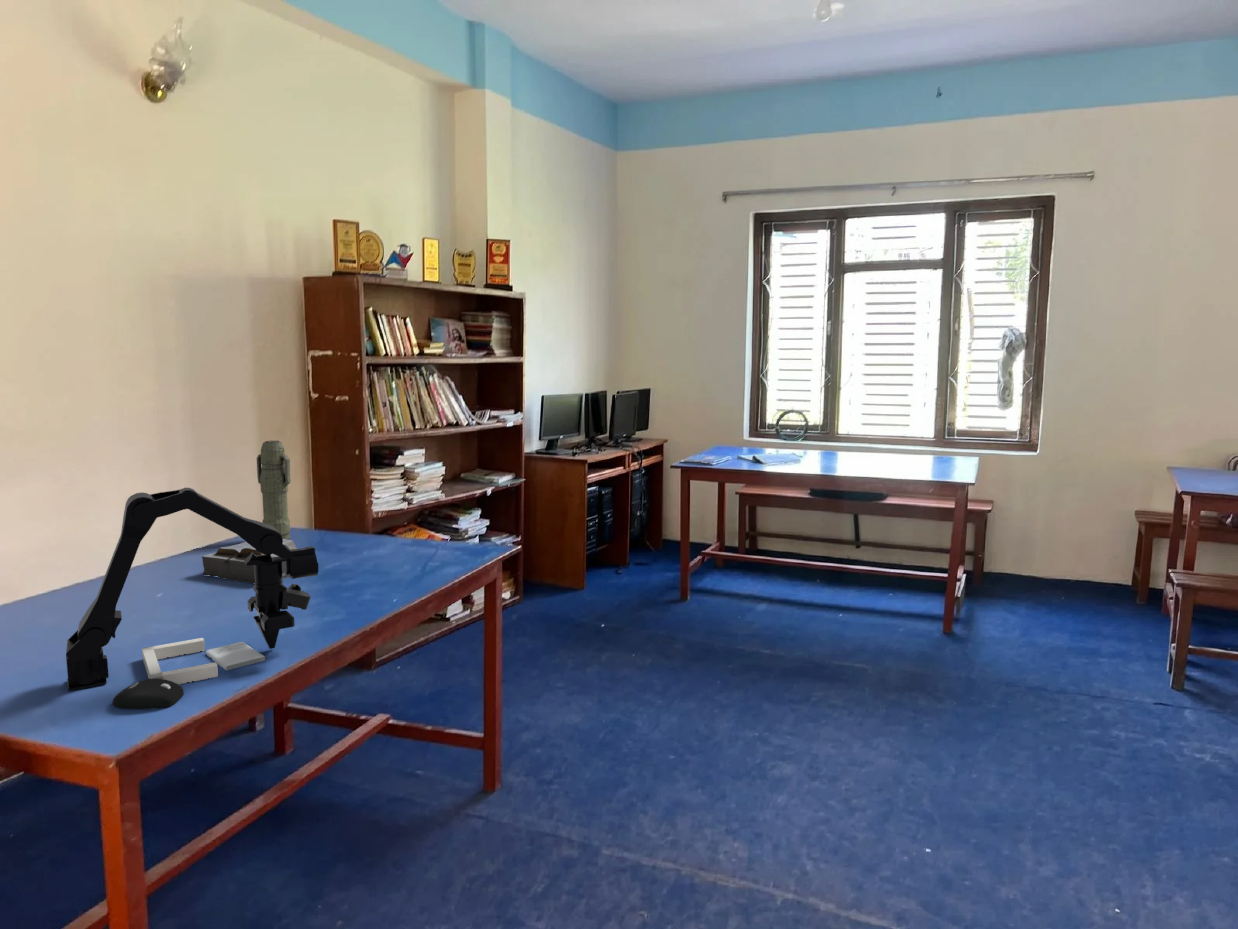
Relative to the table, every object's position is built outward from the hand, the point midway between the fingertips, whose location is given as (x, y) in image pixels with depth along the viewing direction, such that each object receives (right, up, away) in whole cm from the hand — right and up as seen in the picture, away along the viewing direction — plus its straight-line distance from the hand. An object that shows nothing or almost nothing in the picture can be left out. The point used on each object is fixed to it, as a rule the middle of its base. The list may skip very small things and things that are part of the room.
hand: (271, 648), depth 183 cm
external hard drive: (-6, -2, -4) cm, 8 cm away
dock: (-15, -2, -11) cm, 19 cm away
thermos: (-42, +15, +101) cm, 110 cm away
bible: (-30, +8, +61) cm, 69 cm away
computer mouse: (-13, -5, -27) cm, 30 cm away
